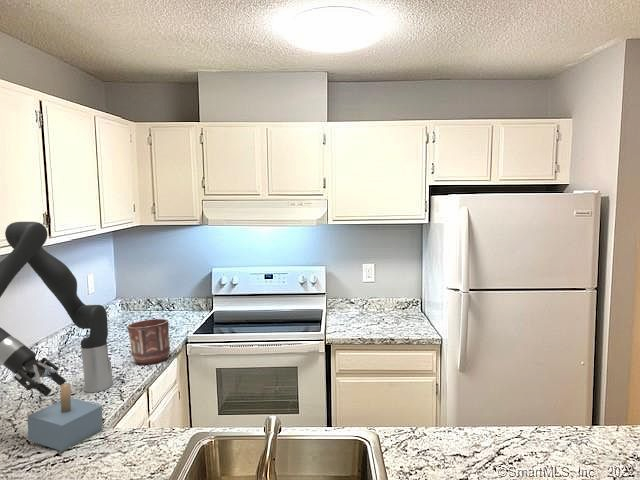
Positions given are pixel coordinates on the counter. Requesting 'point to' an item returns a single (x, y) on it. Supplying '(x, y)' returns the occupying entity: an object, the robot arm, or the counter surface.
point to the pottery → (149, 340)
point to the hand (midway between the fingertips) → (56, 388)
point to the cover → (64, 422)
